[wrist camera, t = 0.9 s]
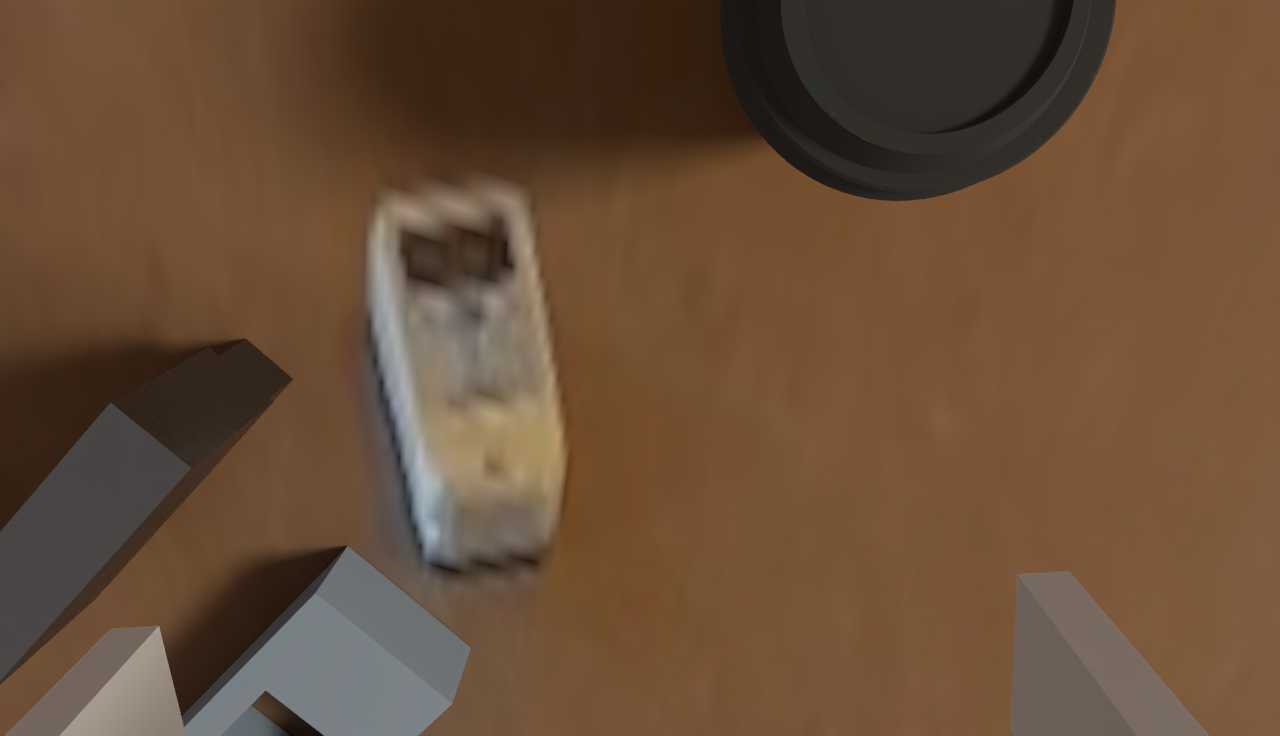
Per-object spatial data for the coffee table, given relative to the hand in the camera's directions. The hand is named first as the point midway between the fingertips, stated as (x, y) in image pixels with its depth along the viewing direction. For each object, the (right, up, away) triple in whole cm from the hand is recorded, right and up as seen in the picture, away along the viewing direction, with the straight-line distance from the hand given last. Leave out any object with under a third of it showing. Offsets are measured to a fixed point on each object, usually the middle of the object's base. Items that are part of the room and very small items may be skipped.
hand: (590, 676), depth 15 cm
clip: (-18, +2, +25) cm, 31 cm away
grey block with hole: (-17, -13, +29) cm, 36 cm away
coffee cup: (+7, +17, +20) cm, 27 cm away
